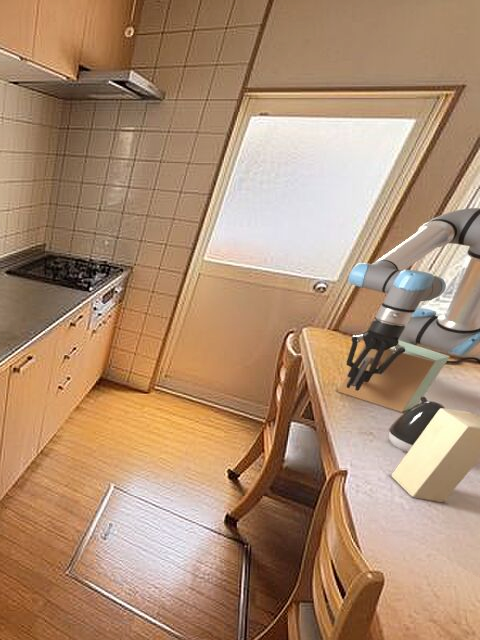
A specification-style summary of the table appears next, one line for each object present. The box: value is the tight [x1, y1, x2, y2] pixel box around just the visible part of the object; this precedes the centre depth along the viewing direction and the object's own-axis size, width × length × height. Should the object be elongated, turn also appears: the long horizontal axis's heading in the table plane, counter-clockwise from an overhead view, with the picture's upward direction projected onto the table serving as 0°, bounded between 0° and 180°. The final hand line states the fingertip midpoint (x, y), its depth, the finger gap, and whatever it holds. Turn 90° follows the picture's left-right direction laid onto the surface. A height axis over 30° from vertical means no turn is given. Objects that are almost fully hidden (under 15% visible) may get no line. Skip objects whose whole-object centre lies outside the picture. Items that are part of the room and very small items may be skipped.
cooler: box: [390, 340, 451, 412], centre depth 143 cm, size 10×17×19 cm, turn 25°
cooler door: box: [337, 342, 435, 413], centre depth 137 cm, size 8×17×19 cm, turn 45°
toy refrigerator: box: [390, 408, 480, 503], centre depth 98 cm, size 8×7×21 cm
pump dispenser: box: [388, 396, 446, 453], centre depth 116 cm, size 10×10×15 cm
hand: (352, 387), depth 139 cm, fingers closed on cooler door, 2 cm apart
